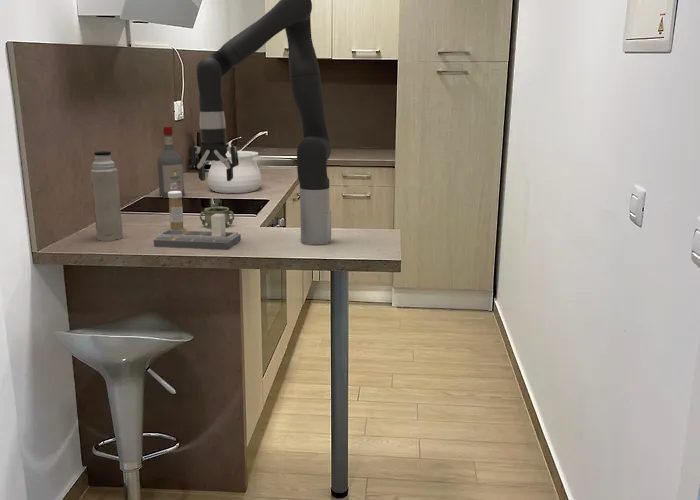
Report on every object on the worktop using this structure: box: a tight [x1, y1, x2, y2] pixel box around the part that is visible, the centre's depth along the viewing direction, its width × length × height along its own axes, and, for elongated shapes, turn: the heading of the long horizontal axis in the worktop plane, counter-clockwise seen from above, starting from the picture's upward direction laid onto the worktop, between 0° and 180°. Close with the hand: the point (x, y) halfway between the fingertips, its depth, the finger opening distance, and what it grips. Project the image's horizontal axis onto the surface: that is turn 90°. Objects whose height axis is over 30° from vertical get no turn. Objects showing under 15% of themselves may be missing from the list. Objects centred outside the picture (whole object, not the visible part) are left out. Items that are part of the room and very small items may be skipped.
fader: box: [211, 214, 227, 237], centre depth 213 cm, size 3×5×7 cm, turn 170°
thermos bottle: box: [90, 151, 124, 242], centre depth 219 cm, size 8×8×28 cm
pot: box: [207, 150, 263, 194], centre depth 314 cm, size 26×24×17 cm
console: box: [153, 229, 242, 250], centre depth 215 cm, size 24×12×3 cm, turn 80°
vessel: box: [199, 206, 235, 229], centre depth 239 cm, size 12×9×6 cm
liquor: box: [156, 126, 185, 198], centre depth 295 cm, size 9×9×30 cm
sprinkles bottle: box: [168, 191, 185, 230], centre depth 232 cm, size 5×5×13 cm
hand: (216, 180), depth 210 cm, fingers open, 8 cm apart
